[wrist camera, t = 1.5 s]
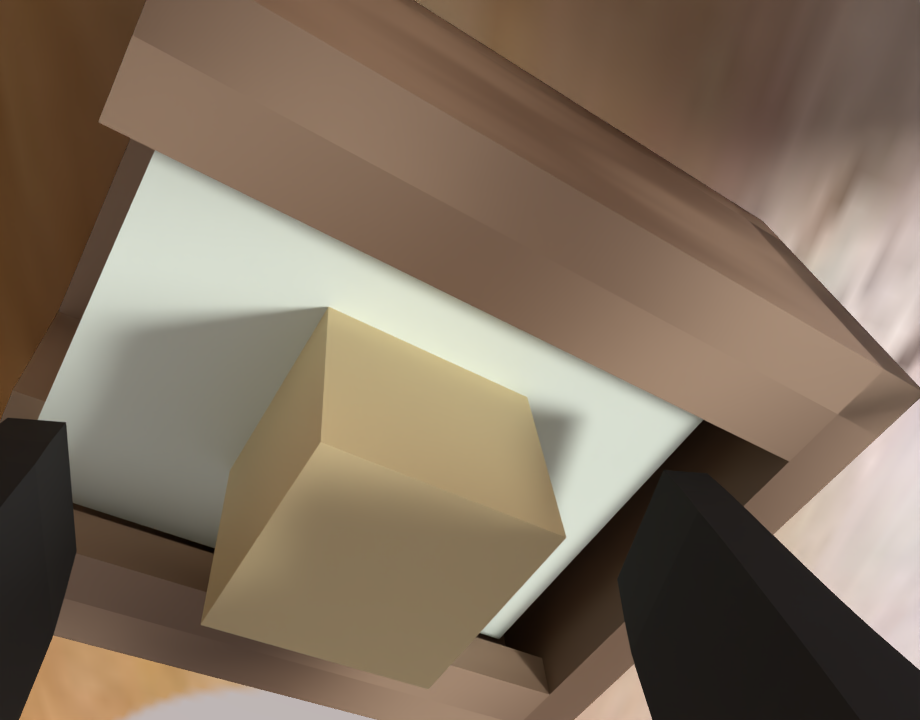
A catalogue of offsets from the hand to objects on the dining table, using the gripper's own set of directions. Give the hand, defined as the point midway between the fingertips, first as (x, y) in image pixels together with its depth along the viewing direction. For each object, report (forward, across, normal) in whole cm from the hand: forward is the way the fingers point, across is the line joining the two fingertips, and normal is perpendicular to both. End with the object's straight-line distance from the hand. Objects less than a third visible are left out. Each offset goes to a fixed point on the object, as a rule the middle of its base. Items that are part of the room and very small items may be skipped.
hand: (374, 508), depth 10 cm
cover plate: (+3, 0, 0) cm, 3 cm away
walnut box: (+6, 0, 0) cm, 6 cm away
